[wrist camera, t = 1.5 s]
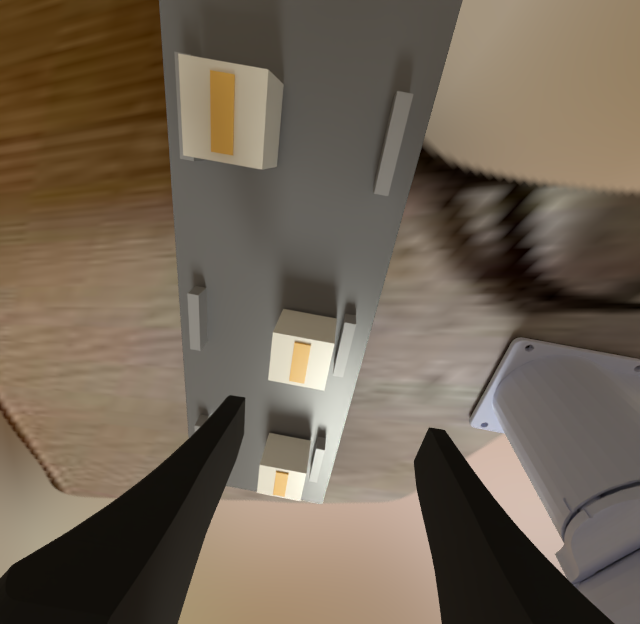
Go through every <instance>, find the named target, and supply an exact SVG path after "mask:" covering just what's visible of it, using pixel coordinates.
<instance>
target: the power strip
mask: <svg viewBox="0 0 640 624" xmlns="http://www.w3.org/2000/svg"><path fill="white" fill-rule="evenodd" d="M461 4H462V0H159V6H160V21H161V36H162V50H163V65H164V80H165V95H166V109H167V124H168V139H169V154H170V168H171V183H172V198H173V213H174V227H175V242H176V257H177V272H178V286H179V301H180V316H181V331H182V345H183V360H184V375H185V390H186V404H187V419H188V434H189V438H190V437H191V436H192V435H193V434H194V433H195V432H196V431H197V430H198V429H199V428H200V427H201V426H202V425H203V424H204V423H205V421H206V420H207V419H208V418H209V417H210V416H211V415H212V414H213V413H214V412H215V410H216V409H217V408H218V407H219V406H220V405H221V404H222V402H223V401H224V400H225V399H226V398H227V397H228V396H229V395H233V396H239V397H245V426H244V436H243V439H242V443H241V446H240V450H239V453H238V456H237V459H236V462H235V464H234V467H233V469H232V472H231V474H230V476H229V479H228V481H227V484H226V486H229V487H235V488H240V489H245V490H250V491H255V492H257V487H258V477H259V467H260V462H261V459H262V455H263V452H264V449H265V445H266V442H267V439H268V435H269V433H273V434H278V435H284V436H289V437H294V438H299V439H305V440H310V441H311V445H310V452H309V459H308V466H307V472H306V477H305V482H304V487H303V491H302V496H301V500H302V501H308V502H313V503H318V504H323V500H324V496H325V493H326V489H327V486H328V482H329V478H330V475H331V471H332V468H333V464H334V461H335V457H336V453H337V450H338V446H339V443H340V439H341V435H342V432H343V428H344V425H345V421H346V417H347V414H348V410H349V407H350V403H351V399H352V396H353V392H354V389H355V385H356V381H357V378H358V374H359V371H360V367H361V363H362V360H363V356H364V353H365V349H366V345H367V342H368V338H369V335H370V331H371V327H372V324H373V320H374V317H375V313H376V309H377V306H378V302H379V299H380V295H381V291H382V288H383V284H384V281H385V277H386V273H387V270H388V266H389V263H390V259H391V255H392V252H393V248H394V245H395V241H396V237H397V234H398V230H399V227H400V223H401V219H402V216H403V212H404V209H405V205H406V201H407V198H408V194H409V191H410V187H411V184H412V180H413V176H414V173H415V169H416V166H417V162H418V158H419V155H420V151H421V148H422V144H423V140H424V137H425V133H426V130H427V126H428V122H429V119H430V115H431V112H432V108H433V104H434V101H435V97H436V93H437V90H438V86H439V83H440V79H441V75H442V72H443V68H444V65H445V61H446V58H447V54H448V50H449V47H450V43H451V39H452V36H453V32H454V29H455V25H456V22H457V18H458V14H459V11H460V7H461ZM178 54H184V55H190V56H195V57H201V58H207V59H212V60H218V61H223V62H229V63H235V64H240V65H246V66H252V67H257V68H263V69H268V70H269V71H270V72H271V73H273V74H274V75H275V76H276V77H277V78H278V79H279V80H280V81H281V82H282V83H283V84H284V87H283V99H282V111H281V123H280V135H279V147H278V160H277V167H273V168H268V169H263V170H261V169H256V168H250V167H245V166H239V165H234V164H228V163H223V162H217V161H211V160H206V159H200V158H195V157H189V156H184V155H183V142H182V121H181V101H180V80H179V60H178ZM283 309H287V310H293V311H298V312H304V313H309V314H314V315H320V316H325V317H331V318H336V319H337V323H336V334H335V344H334V349H333V353H332V358H331V362H330V367H329V372H328V376H327V381H326V385H325V390H324V391H323V390H318V389H312V388H307V387H302V386H296V385H291V384H286V383H280V382H275V381H270V380H268V376H269V366H270V356H271V346H272V336H273V331H274V329H275V326H276V324H277V322H278V320H279V317H280V315H281V313H282V311H283Z"/></svg>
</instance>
